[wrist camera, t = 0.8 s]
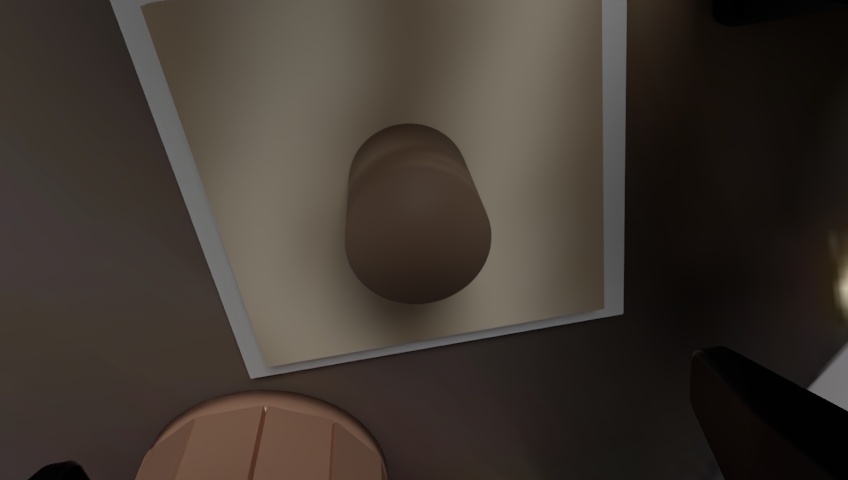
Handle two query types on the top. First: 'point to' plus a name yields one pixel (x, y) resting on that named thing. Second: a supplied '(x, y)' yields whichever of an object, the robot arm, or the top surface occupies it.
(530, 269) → the cover
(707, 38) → the top surface
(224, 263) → the mat
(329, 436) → the bowl
